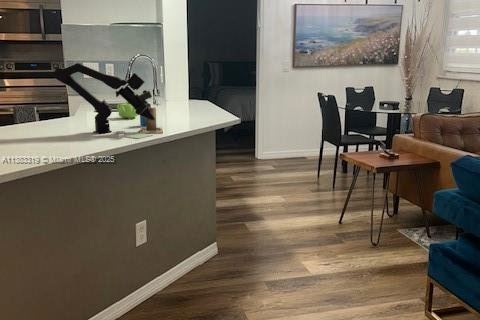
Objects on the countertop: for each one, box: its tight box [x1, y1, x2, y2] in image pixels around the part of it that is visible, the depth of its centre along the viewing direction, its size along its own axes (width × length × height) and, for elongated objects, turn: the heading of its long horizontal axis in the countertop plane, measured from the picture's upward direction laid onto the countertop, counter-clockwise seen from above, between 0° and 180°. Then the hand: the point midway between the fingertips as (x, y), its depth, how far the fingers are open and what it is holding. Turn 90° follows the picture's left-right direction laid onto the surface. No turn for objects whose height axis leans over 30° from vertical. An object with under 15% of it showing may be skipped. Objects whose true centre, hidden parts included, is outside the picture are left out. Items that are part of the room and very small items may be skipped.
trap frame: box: [139, 126, 164, 135], centre depth 231 cm, size 11×11×1 cm
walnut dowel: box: [145, 107, 157, 131], centre depth 230 cm, size 5×5×12 cm
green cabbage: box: [116, 101, 139, 120], centre depth 273 cm, size 12×12×10 cm
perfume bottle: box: [139, 102, 152, 128], centre depth 248 cm, size 6×6×12 cm
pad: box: [122, 132, 153, 140], centre depth 219 cm, size 10×10×1 cm
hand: (153, 118), depth 230 cm, fingers closed on walnut dowel, 5 cm apart
